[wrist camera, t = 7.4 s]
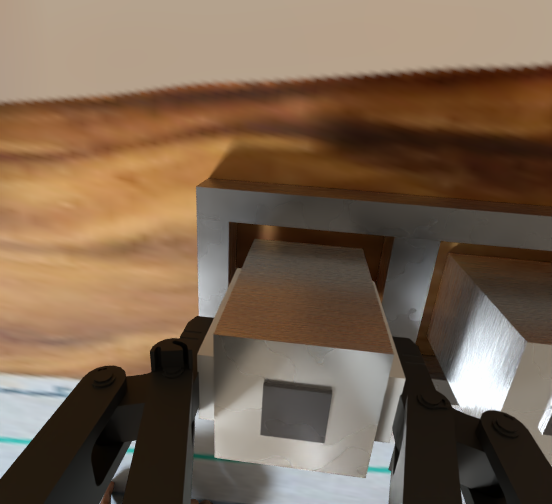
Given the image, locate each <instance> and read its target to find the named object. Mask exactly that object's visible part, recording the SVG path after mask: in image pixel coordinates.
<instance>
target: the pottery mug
mask: <svg viewBox="0 0 552 504" xmlns="http://www.w3.org/2000/svg"><path fill="white" fill-rule="evenodd" d="M113 489H114V482H112V481H111V482H110V484H109V486H108V488H107V490H106V492H105V494H104V496H103V498H102V500H101V503H100V504H111V494H112V491H113ZM191 504H199V502H198V500H196V499H191ZM200 504H213V503H211V502H210V501H209V500H203V501H201V502H200Z"/></svg>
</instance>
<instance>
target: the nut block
mask: <svg viewBox="0 0 552 504" xmlns="http://www.w3.org/2000/svg"><path fill="white" fill-rule="evenodd" d="M213 356H214V445H215V458H221V459H228V460H235V461H243V462H250V463H257V464H265V465H272V466H280V467H287V468H294V469H302V470H309V471H316V472H324V473H331V474H338V475H346V476H353V477H360V478H366V474H367V469H368V465H369V461H370V456H371V452H372V448H373V443H374V439H375V435H376V431H377V426H378V422H379V418H380V413H381V409H382V405H383V400H384V396H385V392H386V388H387V383H388V379H389V375H390V370H391V366H392V362H393V357H394V352H393V349H392V346H391V342H390V339H389V336H388V332H387V329H386V326H385V322H384V319H383V315H382V312H381V309H380V305H379V302H378V299H377V295H376V292H375V289H374V285H373V282H372V278H371V275H370V272H369V268H368V265H367V262H366V258H365V255H364V252H363V249H361V248H350V247H339V246H329V245H318V244H307V243H296V242H285V241H275V240H264V239H254V241H253V244H252V246H251V248H250V251H249V253H248V255H247V257H246V260H245V262H244V264H243V267H242V269H241V271H240V274H239V276H238V278H237V281H236V283H235V285H234V288H233V290H232V292H231V294H230V297H229V299H228V301H227V304H226V306H225V308H224V311H223V313H222V315H221V318H220V320H219V322H218V325H217V327H216V329H215V331H214V334H213Z"/></svg>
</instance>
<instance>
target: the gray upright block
mask: <svg viewBox="0 0 552 504" xmlns="http://www.w3.org/2000/svg"><path fill="white" fill-rule="evenodd" d="M427 338H428V340H429V342H430V345H431V347H432V349H433V351H434V353H435V355H436V357H437V359H438V361H439V364H440V366H441V368H442V370H443V372H444V374H445V376H446V378H447V380H448V382H449V385H450V387H451V389H452V391H453V393H454V395H455V397H456V399H457V401H458V404H459V406H460V408H461V410H462V412H463V413H465V414H468V415H470V416H473V417H476V418H479V419H480V418H481V416H482V413H484V412H486V411H488V410H497V411H500V412H504V413H507V414H509V415H511V416H513V417H515V418H516V419H517V420H519V421H520V422H521V423H523V424H524V426H525V427H526V428H527V429H528V430H529V432H530V433H531V435H532V436H533V438H534V439H535V441H536V443H537V444H538V446H539V447H540V449H541V451H542V452H543V454H544V455H545V457H546V459H547V460H548V462H549V463H550V465H552V262H542V261H531V260H520V259H510V258H499V257H488V256H477V255H466V254H456V253H448V255H447V259H446V263H445V267H444V271H443V274H442V278H441V282H440V286H439V290H438V294H437V298H436V301H435V305H434V309H433V313H432V317H431V321H430V325H429V328H428V332H427Z"/></svg>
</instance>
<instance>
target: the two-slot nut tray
mask: <svg viewBox="0 0 552 504" xmlns="http://www.w3.org/2000/svg"><path fill="white" fill-rule="evenodd" d="M196 198H197V246H198V293H199V316H202V317H212V318H214V317H215V315H216V313H217V311H218V308H219V306H220V304H221V302H222V300H223V298H224V296H225V293H226V291H227V289H228V287H229V285H230V283H231V281H232V278H233V276H234V274H235V272H236V254H237V223H248V224H259V225H270V226H281V227H293V228H304V229H315V230H326V231H337V232H348V233H359V234H370V235H381V236H384V241H383V247H382V252H381V257H380V263H379V268H378V274H377V279H376V284H375V285H376V288H377V291H378V295H379V298H380V301H381V304H382V307H383V310H384V313H385V316H386V319H387V323H388V326H389V329H390V332H391V335H392V336H395V337H404V338H410V339H411V340H412V341H413V342H414V343H416V339H417V335H418V331H419V327H420V323H421V319H422V315H423V311H424V307H425V303H426V299H427V295H428V291H429V287H430V283H431V279H432V275H433V270H434V266H435V262H436V258H437V254H438V250H439V246H440V242H441V241H447V242H458V243H469V244H480V245H491V246H502V247H513V248H524V249H535V250H546V251H552V207H550V206H538V205H526V204H514V203H502V202H490V201H478V200H465V199H453V198H441V197H429V196H417V195H405V194H393V193H381V192H368V191H356V190H344V189H332V188H320V187H308V186H296V185H284V184H271V183H259V182H247V181H235V180H223V179H211V178H208V179H207V180H205V181H204V182H202V183H201V184H199V185H198V186H197V187H196ZM422 358H423V360H424V362H425V365H426V367H427V369H428V372H429V374H430V377H431V379H432V382H433V384H434V386H435V389H436V390H437V391H438V392H440V393H441V394H443V395H444V396H445V397H446V398H447V399H448V400H449V401H450V403H451V405H459V404H458V401H457V399H456V397H455V395H454V393H453V391H452V389H451V387H450V385H449V382H448V380H447V378H446V376H445V374H444V372H443V370H442V368H441V366H440V364H439V361H438V359H437V357H436V356H430V355H422Z"/></svg>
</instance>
